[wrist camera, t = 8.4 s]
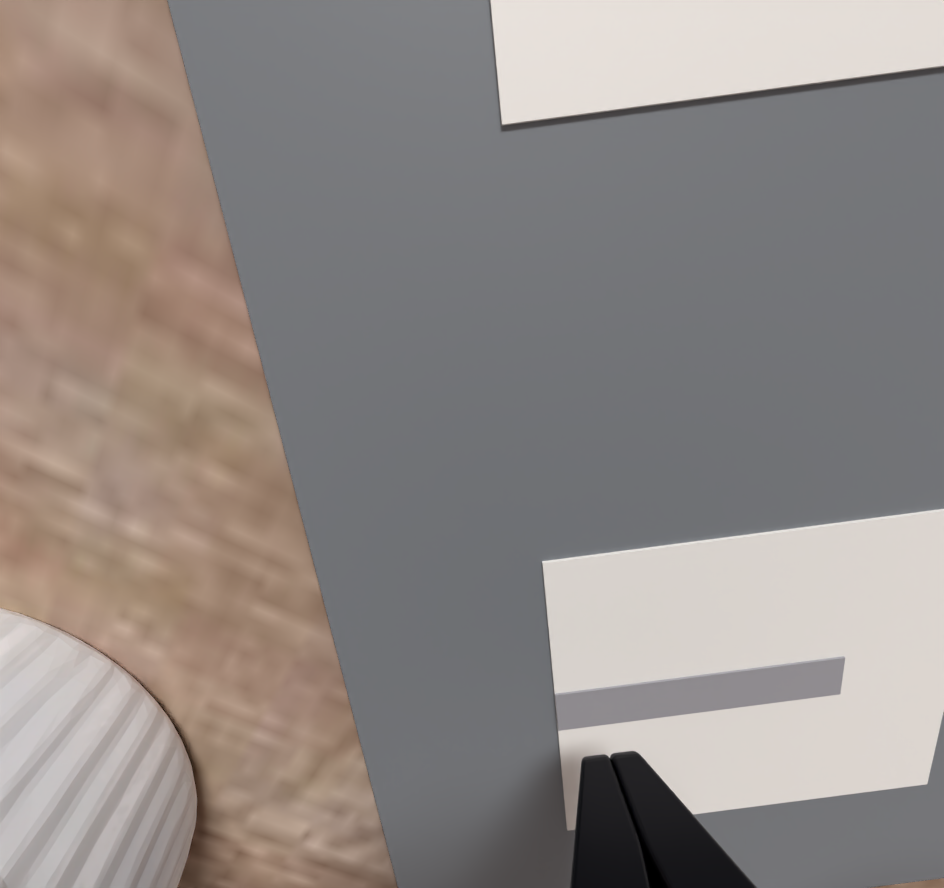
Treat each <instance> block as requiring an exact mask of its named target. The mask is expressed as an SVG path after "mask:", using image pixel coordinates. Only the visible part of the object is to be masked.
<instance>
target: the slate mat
mask: <svg viewBox="0 0 944 888" xmlns="http://www.w3.org/2000/svg"><path fill="white" fill-rule="evenodd" d="M168 4H169V8H170V12H171V16H172V20H173V23H174V27H175V31H176V35H177V39H178V43H179V47H180V50H181V54H182V58H183V62H184V66H185V70H186V73H187V77H188V81H189V85H190V89H191V93H192V97H193V100H194V104H195V108H196V112H197V116H198V120H199V123H200V127H201V131H202V135H203V139H204V143H205V147H206V150H207V154H208V158H209V162H210V166H211V170H212V173H213V177H214V181H215V185H216V189H217V193H218V197H219V200H220V204H221V208H222V212H223V216H224V220H225V224H226V227H227V231H228V235H229V239H230V243H231V247H232V250H233V254H234V258H235V262H236V266H237V270H238V274H239V277H240V281H241V285H242V289H243V293H244V297H245V300H246V304H247V308H248V312H249V316H250V320H251V324H252V327H253V331H254V335H255V339H256V343H257V347H258V350H259V354H260V358H261V362H262V366H263V370H264V374H265V377H266V381H267V385H268V389H269V393H270V397H271V400H272V404H273V408H274V412H275V416H276V420H277V424H278V427H279V431H280V435H281V439H282V443H283V447H284V450H285V454H286V458H287V462H288V466H289V470H290V474H291V477H292V481H293V485H294V489H295V493H296V497H297V500H298V504H299V508H300V512H301V516H302V520H303V524H304V527H305V531H306V535H307V539H308V543H309V547H310V550H311V554H312V558H313V562H314V566H315V570H316V574H317V577H318V581H319V585H320V589H321V593H322V597H323V600H324V604H325V608H326V612H327V616H328V620H329V624H330V627H331V631H332V635H333V639H334V643H335V647H336V650H337V654H338V658H339V662H340V666H341V670H342V674H343V677H344V681H345V685H346V689H347V693H348V697H349V700H350V704H351V708H352V712H353V716H354V720H355V724H356V727H357V731H358V735H359V739H360V743H361V747H362V751H363V754H364V758H365V762H366V766H367V770H368V774H369V777H370V781H371V785H372V789H373V793H374V797H375V801H376V804H377V808H378V812H379V816H380V820H381V824H382V827H383V831H384V835H385V839H386V843H387V847H388V851H389V854H390V858H391V862H392V866H393V870H394V874H395V877H396V881H397V885H398V888H570V883H571V872H572V861H573V849H574V838H575V827H576V816H577V804H578V793H579V782H580V770H581V761H582V759H583V758H584V757H585V756H593V755H601V754H605V755H607V756H609V758H610V755H611V754H613V753H618V752H626V751H636V752H638V753H639V754H640V755H641V756H642V757H643V758H644V759H645V760H646V762H647V763H648V764H649V765H650V766H651V767H652V768H653V770H654V771H655V772H656V773H657V774H658V775H659V776H660V777H661V779H662V780H663V781H664V782H665V783H666V784H667V785H668V787H669V788H670V789H671V790H672V791H673V792H674V793H675V795H676V796H677V797H678V798H679V799H680V800H681V801H682V803H683V804H684V805H685V806H686V807H687V808H688V809H689V811H690V812H691V813H692V814H693V815H694V816H695V817H696V819H697V820H698V821H699V822H700V823H701V824H702V825H703V826H704V828H705V829H706V830H707V831H708V832H709V833H710V834H711V836H712V837H713V838H714V839H715V840H716V841H717V842H718V844H719V845H720V846H721V847H722V848H723V849H724V850H725V852H726V853H727V854H728V855H729V856H730V857H731V858H732V860H733V861H734V862H735V863H736V864H737V865H738V866H739V868H740V869H741V870H742V871H743V872H744V873H745V874H746V876H747V877H748V878H749V879H750V880H751V881H752V882H753V883H754V885H755V886H756V887H757V888H870V887H877V886H885V885H893V884H901V883H909V882H916V881H924V880H932V879H940V878H944V0H168Z"/></svg>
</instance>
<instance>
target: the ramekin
mask: <svg viewBox="0 0 944 888" xmlns="http://www.w3.org/2000/svg"><path fill="white" fill-rule="evenodd" d="M196 819H197V793H196V786H195V781H194V776H193V770H192V765H191V763H190V760H189V757H188V754H187V752H186V749H185V747H184V744H183V742H182V740H181V738H180V736H179V734H178V733H177V731H176V729H175V727H174V725H173V724H172V722H171V720H170V719H169V717H168V716H167V714H166V713H165V712H164V711H163V709H162V708H161V707H160V705H159V704H158V703H157V701H156V700H155V699H154V698H153V697H152V696H151V695H150V694H149V693H148V692H147V691H146V689H145V688H144V687H143V686H142V685H141V684H140V683H139V682H138V681H137V680H136V679H135V678H134V677H133V676H131V675H130V674H129V673H128V672H127V671H125V670H124V669H123V668H122V667H120V666H119V665H118V664H116V663H115V662H113V661H112V660H111V659H109V658H108V657H106V656H105V655H104V654H102V653H101V652H99V651H98V650H96V649H95V648H93V647H91V646H90V645H88V644H86V643H84V642H83V641H81V640H79V639H77V638H76V637H74V636H72V635H70V634H68V633H66V632H64V631H62V630H60V629H57V628H55V627H53V626H51V625H48V624H46V623H44V622H42V621H39V620H36V619H34V618H31V617H28V616H25V615H23V614H20V613H17V612H13V611H10V610H6V609H3V608H0V888H177V887H178V884H179V881H180V878H181V876H182V873H183V870H184V867H185V864H186V861H187V858H188V854H189V850H190V846H191V841H192V837H193V834H194V830H195V826H196Z"/></svg>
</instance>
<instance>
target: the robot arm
mask: <svg viewBox="0 0 944 888" xmlns="http://www.w3.org/2000/svg"><path fill="white" fill-rule="evenodd" d="M570 888H757V887H756V886H755V885H754V883H753V882H752V881H751V880H750V879H749V878H748V877H747V876H746V874H745V873H744V872H743V871H742V870H741V869H740V868H739V866H738V865H737V864H736V863H735V862H734V861H733V860H732V858H731V857H730V856H729V855H728V854H727V853H726V852H725V850H724V849H723V848H722V847H721V846H720V845H719V844H718V842H717V841H716V840H715V839H714V838H713V837H712V836H711V834H710V833H709V832H708V831H707V830H706V829H705V828H704V826H703V825H702V824H701V823H700V822H699V821H698V820H697V819H696V817H695V816H694V815H693V814H692V813H691V812H690V811H689V809H688V808H687V807H686V806H685V805H684V804H683V803H682V801H681V800H680V799H679V798H678V797H677V796H676V795H675V793H674V792H673V791H672V790H671V789H670V788H669V787H668V785H667V784H666V783H665V782H664V781H663V780H662V779H661V777H660V776H659V775H658V774H657V773H656V772H655V771H654V770H653V768H652V767H651V766H650V765H649V764H648V763H647V762H646V760H645V759H644V758H643V757H642V756H641V755H640V754H639V753H638V752H636V751H626V752H618V753H613V754H611V755H610V758H609V756H607V755H605V754H601V755H593V756H585V757H584V758H583V759H582V761H581V770H580V782H579V793H578V804H577V816H576V827H575V838H574V849H573V861H572V872H571V883H570Z"/></svg>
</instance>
